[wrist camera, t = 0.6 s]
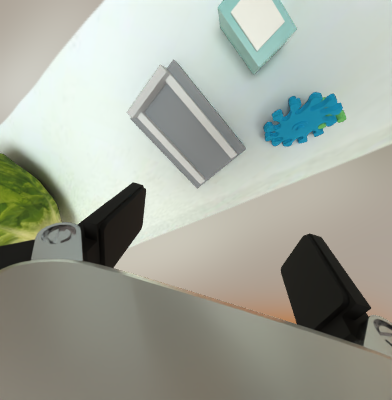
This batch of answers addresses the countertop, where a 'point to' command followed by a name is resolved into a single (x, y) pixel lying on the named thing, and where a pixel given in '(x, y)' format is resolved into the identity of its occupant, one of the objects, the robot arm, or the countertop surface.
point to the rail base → (184, 125)
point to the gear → (304, 119)
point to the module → (255, 28)
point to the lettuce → (23, 204)
